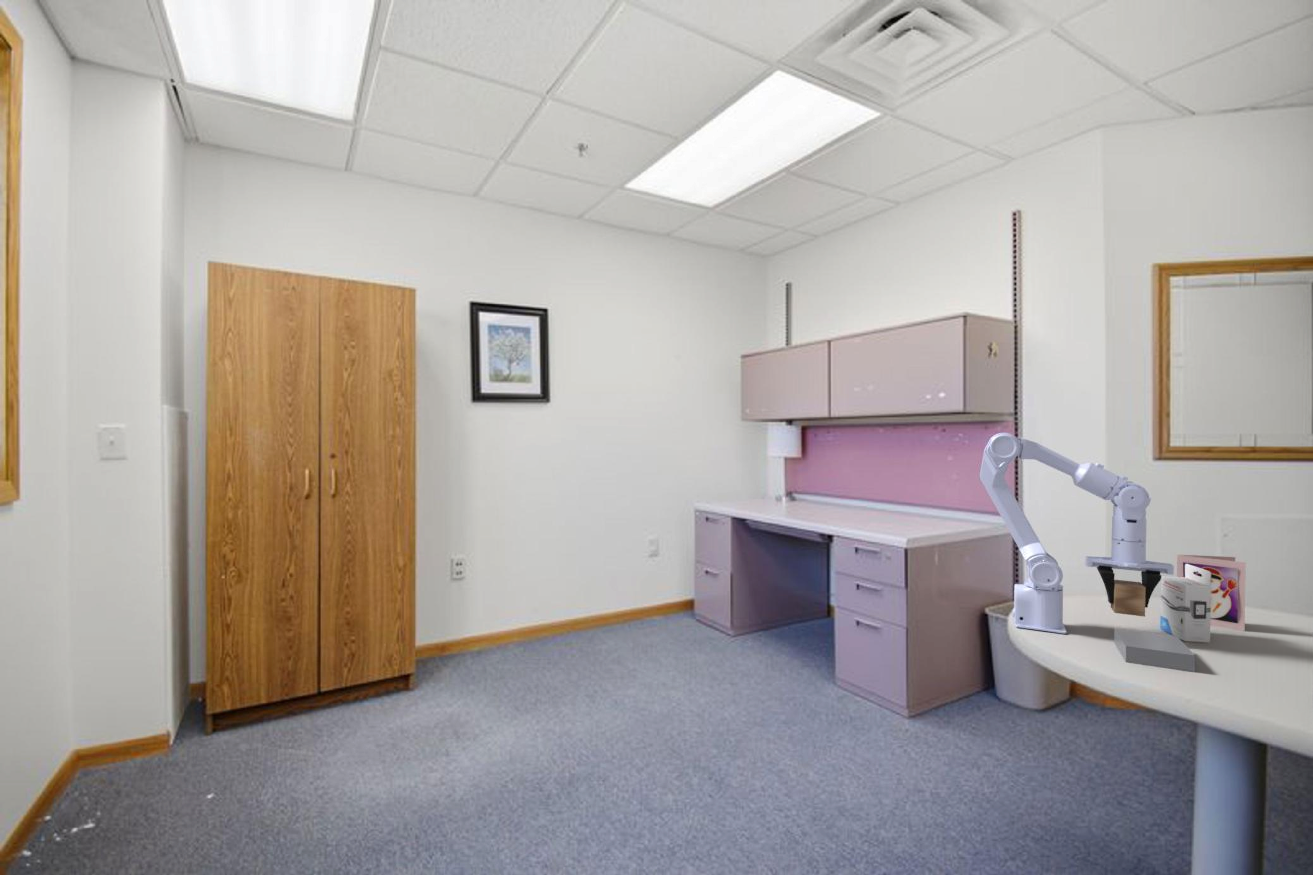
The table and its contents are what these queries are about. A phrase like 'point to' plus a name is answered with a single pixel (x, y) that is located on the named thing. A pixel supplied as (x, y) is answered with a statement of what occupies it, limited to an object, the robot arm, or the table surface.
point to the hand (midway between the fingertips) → (1127, 604)
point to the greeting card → (1221, 588)
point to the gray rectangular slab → (1154, 649)
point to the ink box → (1187, 605)
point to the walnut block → (1129, 598)
